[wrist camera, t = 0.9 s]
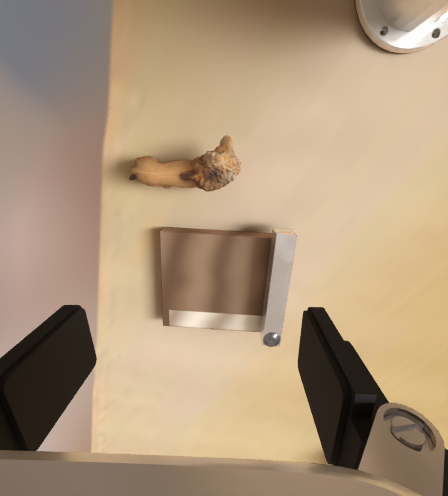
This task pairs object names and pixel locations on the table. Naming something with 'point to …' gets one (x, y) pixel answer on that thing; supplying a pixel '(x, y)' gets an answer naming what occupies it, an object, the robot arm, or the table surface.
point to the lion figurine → (191, 169)
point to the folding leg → (277, 285)
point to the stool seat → (213, 278)
